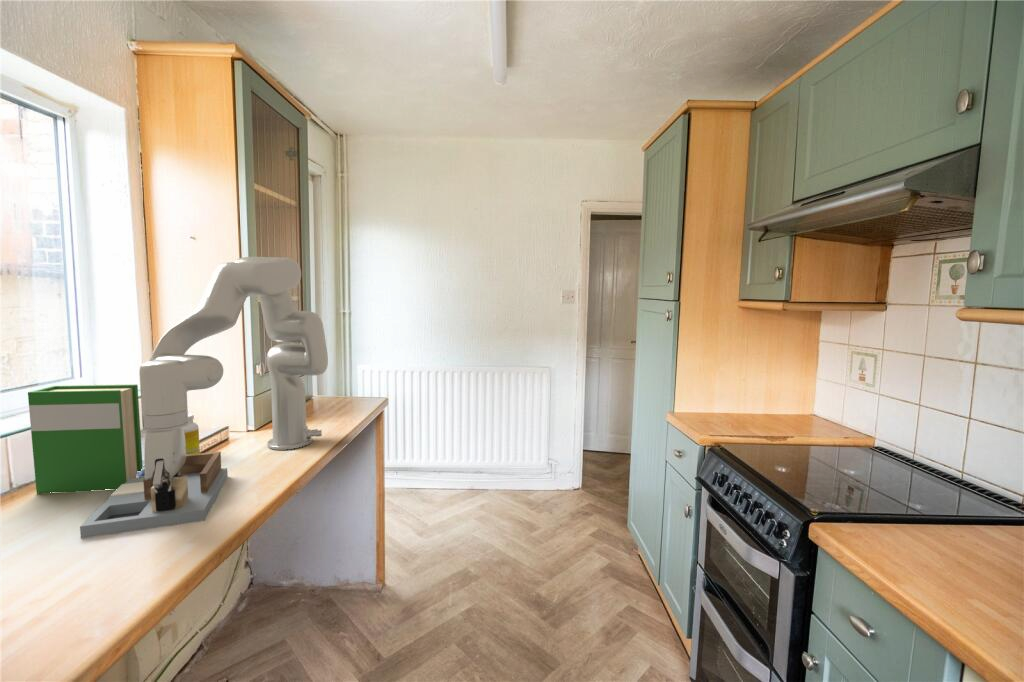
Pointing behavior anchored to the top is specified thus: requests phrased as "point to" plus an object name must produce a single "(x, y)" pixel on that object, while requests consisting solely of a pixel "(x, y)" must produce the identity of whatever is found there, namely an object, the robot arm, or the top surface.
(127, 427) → the hardback book
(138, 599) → the top surface
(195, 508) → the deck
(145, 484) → the brown wooden u-shaped frame
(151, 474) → the robot arm
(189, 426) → the supplement bottle
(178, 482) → the block
